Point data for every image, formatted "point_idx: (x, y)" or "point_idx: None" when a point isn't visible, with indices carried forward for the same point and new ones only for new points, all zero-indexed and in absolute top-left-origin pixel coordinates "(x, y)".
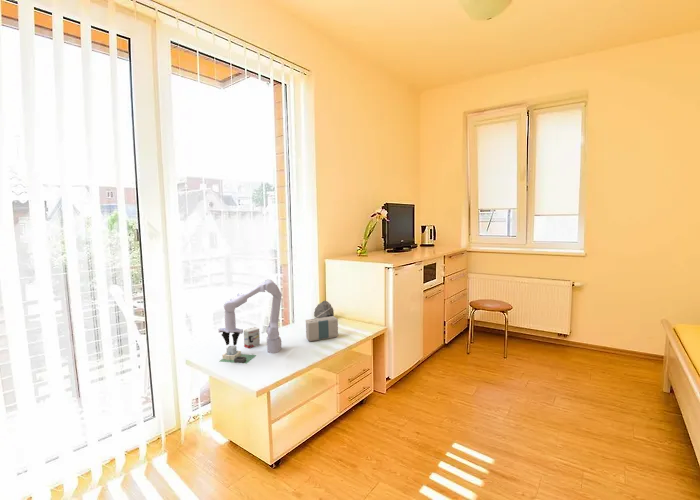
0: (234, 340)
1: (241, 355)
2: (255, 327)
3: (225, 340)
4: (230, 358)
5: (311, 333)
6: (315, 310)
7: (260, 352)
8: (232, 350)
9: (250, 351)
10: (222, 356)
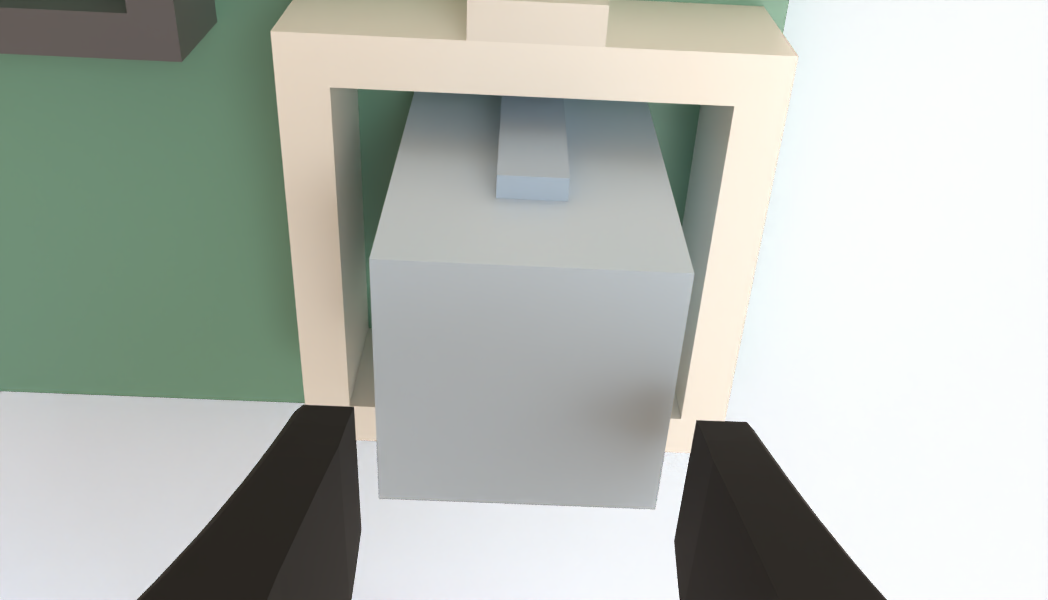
0: (167, 587)
1: None
2: None
3: (830, 584)
4: (458, 5)
5: None
6: None
7: (31, 571)
8: (398, 219)
9: None
10: (782, 34)
